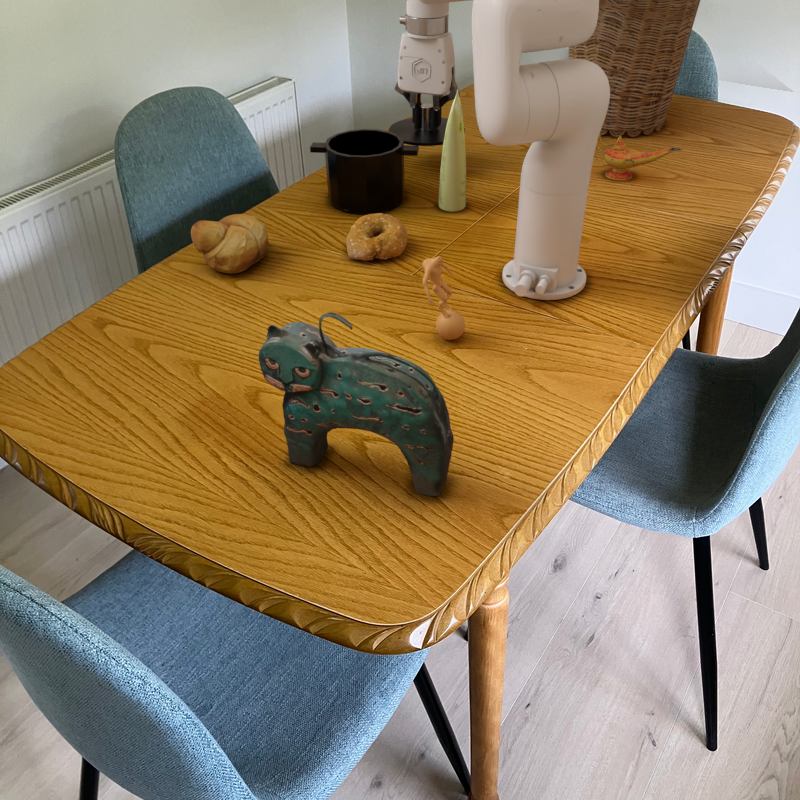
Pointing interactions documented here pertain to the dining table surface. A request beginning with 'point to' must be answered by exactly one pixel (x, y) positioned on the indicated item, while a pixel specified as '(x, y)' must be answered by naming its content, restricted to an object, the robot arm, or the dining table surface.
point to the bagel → (376, 237)
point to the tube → (453, 162)
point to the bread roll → (231, 242)
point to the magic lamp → (628, 158)
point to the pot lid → (420, 129)
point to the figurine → (450, 320)
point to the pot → (365, 170)
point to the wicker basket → (639, 59)
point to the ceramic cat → (356, 399)
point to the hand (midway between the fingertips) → (426, 127)
